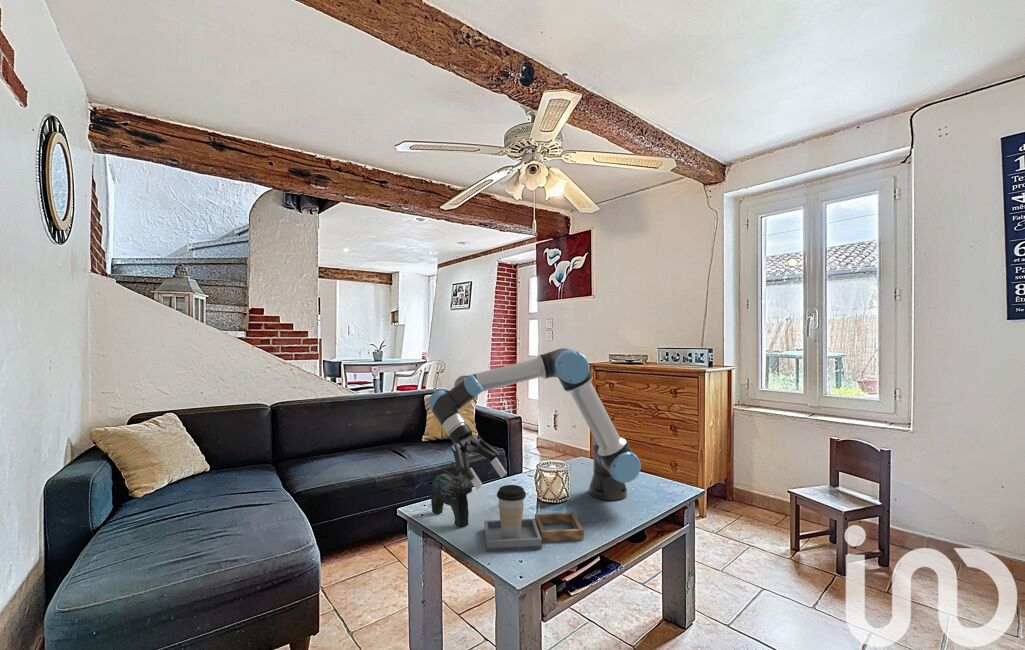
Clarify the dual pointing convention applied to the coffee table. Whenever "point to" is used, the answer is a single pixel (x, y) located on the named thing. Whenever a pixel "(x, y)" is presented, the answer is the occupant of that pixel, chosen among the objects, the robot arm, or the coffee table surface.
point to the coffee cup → (511, 510)
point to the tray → (525, 542)
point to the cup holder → (559, 534)
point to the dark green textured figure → (452, 495)
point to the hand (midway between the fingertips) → (492, 481)
